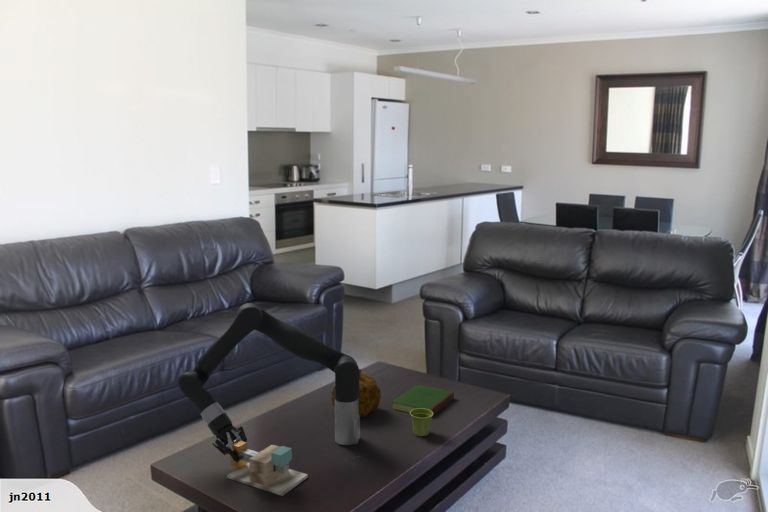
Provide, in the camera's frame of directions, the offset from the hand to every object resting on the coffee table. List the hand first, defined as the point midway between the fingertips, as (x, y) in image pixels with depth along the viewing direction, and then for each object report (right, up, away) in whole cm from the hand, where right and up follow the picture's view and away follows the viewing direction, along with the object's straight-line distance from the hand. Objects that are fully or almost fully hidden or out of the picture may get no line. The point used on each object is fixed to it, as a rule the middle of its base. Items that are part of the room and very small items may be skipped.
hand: (243, 457), depth 224 cm
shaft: (+7, -4, -3) cm, 8 cm away
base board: (+10, -5, -5) cm, 12 cm away
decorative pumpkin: (+37, +3, +51) cm, 63 cm away
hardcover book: (+67, +4, +61) cm, 91 cm away
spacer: (+15, +1, -9) cm, 17 cm away
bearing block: (+10, -5, -5) cm, 12 cm away
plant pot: (+65, 0, +31) cm, 71 cm away
